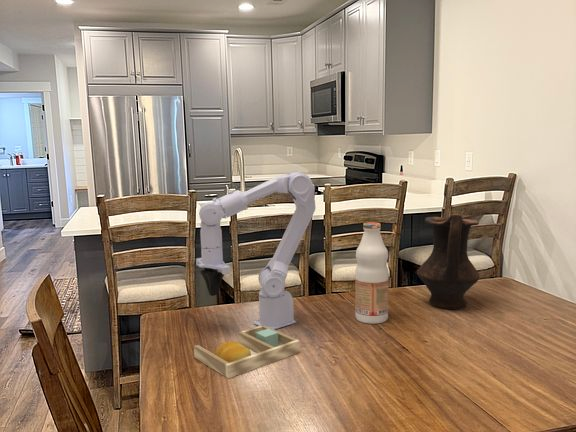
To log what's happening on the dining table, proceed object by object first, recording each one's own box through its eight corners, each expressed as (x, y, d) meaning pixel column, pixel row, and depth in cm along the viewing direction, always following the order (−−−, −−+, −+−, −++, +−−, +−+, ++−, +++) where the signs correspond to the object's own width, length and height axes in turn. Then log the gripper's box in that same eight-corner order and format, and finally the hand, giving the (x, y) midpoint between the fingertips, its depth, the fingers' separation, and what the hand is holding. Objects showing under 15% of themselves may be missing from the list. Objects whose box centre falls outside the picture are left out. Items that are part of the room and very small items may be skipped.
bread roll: (227, 371, 120) (226, 354, 119) (210, 358, 127) (209, 342, 126) (258, 362, 124) (257, 346, 124) (240, 349, 132) (239, 334, 131)
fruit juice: (354, 323, 148) (354, 226, 143) (356, 312, 157) (356, 220, 153) (388, 325, 146) (389, 226, 142) (388, 314, 155) (388, 220, 151)
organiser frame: (263, 335, 140) (263, 324, 140) (299, 352, 129) (299, 340, 128) (194, 357, 127) (193, 345, 127) (228, 378, 116) (227, 365, 115)
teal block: (268, 343, 135) (268, 328, 135) (278, 347, 132) (277, 332, 131) (256, 347, 133) (255, 332, 132) (265, 352, 130) (265, 336, 129)
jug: (413, 294, 173) (415, 205, 169) (471, 295, 171) (474, 204, 166) (420, 316, 153) (422, 214, 148) (486, 318, 150) (490, 214, 145)
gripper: (185, 244, 145) (188, 292, 147) (213, 253, 134) (215, 303, 136) (207, 241, 150) (209, 287, 152) (236, 248, 139) (237, 298, 141)
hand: (213, 294), depth 144 cm, fingers closed
